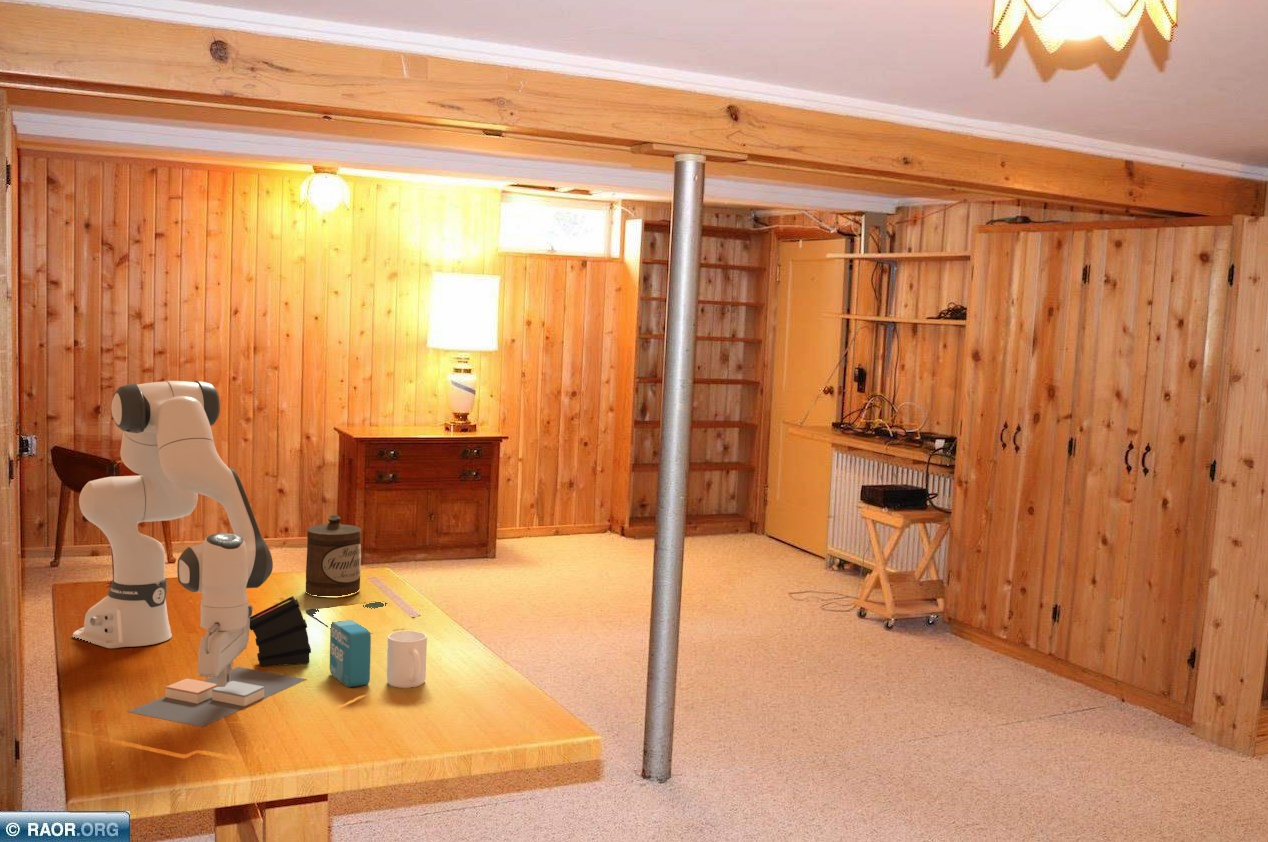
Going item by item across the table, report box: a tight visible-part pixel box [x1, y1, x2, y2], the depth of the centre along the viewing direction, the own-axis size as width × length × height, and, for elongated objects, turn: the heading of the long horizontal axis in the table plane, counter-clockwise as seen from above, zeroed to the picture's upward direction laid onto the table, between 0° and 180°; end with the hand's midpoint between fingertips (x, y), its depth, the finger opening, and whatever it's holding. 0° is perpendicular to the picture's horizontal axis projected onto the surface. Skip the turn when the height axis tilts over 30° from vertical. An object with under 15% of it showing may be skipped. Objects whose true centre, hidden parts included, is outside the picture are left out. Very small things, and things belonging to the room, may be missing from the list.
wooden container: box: [305, 514, 362, 596], centre depth 322 cm, size 15×15×22 cm
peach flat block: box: [165, 678, 218, 704], centre depth 232 cm, size 8×2×6 cm
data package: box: [329, 620, 372, 688], centre depth 248 cm, size 12×4×12 cm, turn 36°
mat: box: [127, 666, 307, 728], centre depth 234 cm, size 18×32×1 cm, turn 159°
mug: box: [386, 630, 428, 689], centre depth 246 cm, size 12×8×10 cm
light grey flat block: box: [212, 681, 264, 706], centre depth 232 cm, size 8×2×6 cm
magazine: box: [249, 595, 312, 667], centre depth 257 cm, size 4×13×15 cm, turn 111°
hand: (223, 684), depth 228 cm, fingers closed
